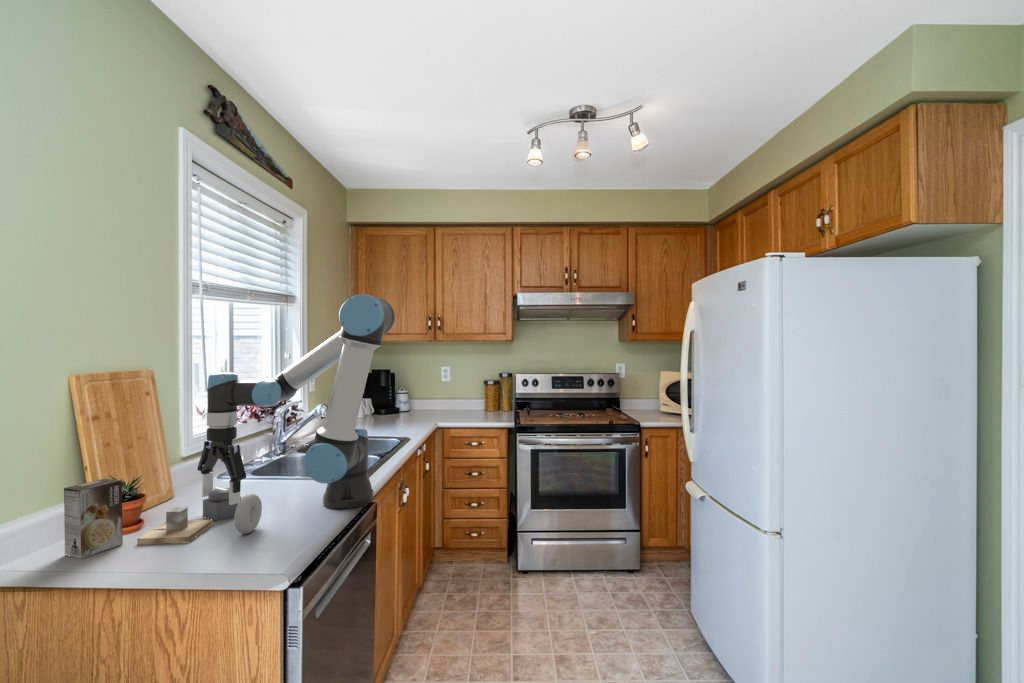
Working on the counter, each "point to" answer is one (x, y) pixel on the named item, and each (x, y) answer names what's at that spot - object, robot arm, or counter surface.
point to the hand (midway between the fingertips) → (220, 499)
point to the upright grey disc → (248, 513)
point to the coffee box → (93, 517)
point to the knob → (218, 505)
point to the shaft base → (175, 534)
